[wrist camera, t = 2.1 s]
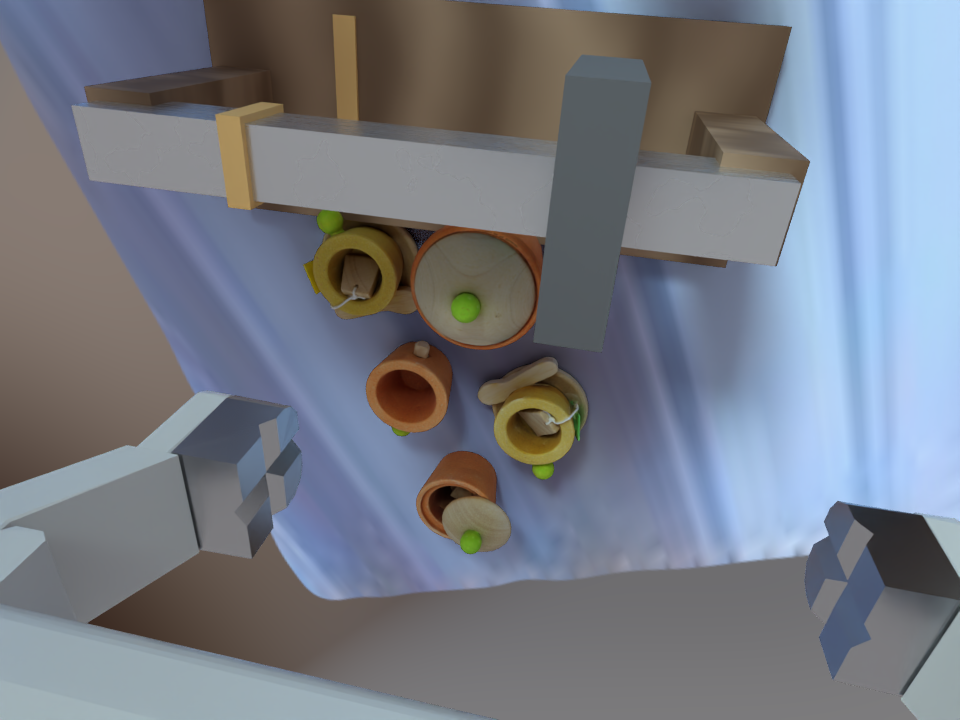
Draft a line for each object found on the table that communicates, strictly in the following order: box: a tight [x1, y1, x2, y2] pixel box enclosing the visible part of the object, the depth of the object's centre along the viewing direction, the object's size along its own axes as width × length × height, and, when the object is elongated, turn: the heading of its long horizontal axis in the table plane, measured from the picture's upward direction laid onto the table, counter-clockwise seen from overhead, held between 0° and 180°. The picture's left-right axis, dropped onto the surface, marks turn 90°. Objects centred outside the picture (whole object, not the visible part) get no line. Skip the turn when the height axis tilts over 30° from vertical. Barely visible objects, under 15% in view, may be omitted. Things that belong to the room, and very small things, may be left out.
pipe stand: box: [71, 0, 810, 268], centre depth 30 cm, size 30×12×14 cm, turn 86°
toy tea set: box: [303, 210, 588, 554], centre depth 40 cm, size 26×16×10 cm, turn 18°
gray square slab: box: [533, 55, 651, 353], centre depth 25 cm, size 2×9×9 cm, turn 176°
